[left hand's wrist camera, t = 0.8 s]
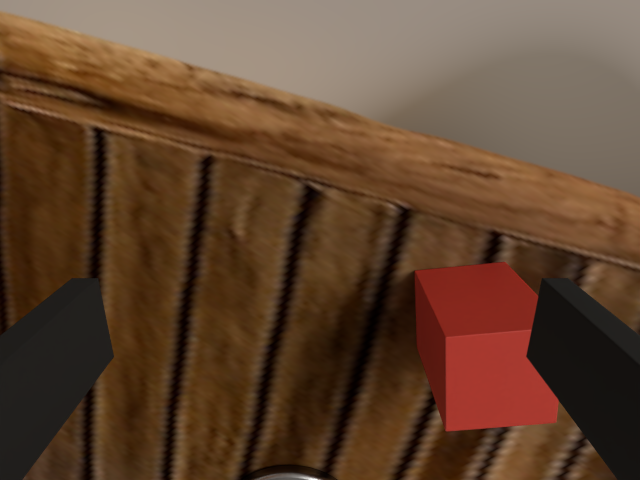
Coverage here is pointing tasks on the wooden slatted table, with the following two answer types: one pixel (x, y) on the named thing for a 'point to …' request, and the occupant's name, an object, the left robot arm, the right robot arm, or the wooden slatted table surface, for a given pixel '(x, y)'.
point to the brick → (480, 347)
